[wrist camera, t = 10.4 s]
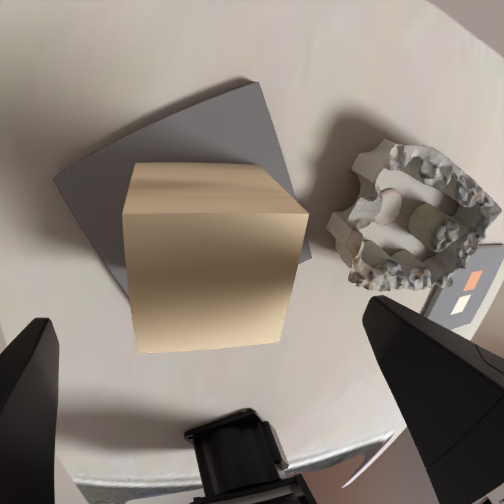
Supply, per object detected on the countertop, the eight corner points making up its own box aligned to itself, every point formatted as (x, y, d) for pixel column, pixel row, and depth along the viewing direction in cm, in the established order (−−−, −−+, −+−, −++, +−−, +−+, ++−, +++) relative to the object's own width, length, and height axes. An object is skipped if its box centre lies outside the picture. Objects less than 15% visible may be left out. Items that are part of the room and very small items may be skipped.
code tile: (467, 319, 27) (470, 322, 27) (411, 335, 25) (415, 340, 24) (503, 244, 23) (508, 247, 22) (454, 246, 20) (459, 250, 20)
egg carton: (306, 244, 17) (343, 290, 14) (368, 114, 14) (425, 133, 11) (420, 276, 21) (454, 310, 18) (469, 187, 18) (511, 213, 15)
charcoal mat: (152, 320, 16) (152, 327, 16) (57, 174, 11) (53, 179, 11) (307, 252, 17) (311, 258, 16) (254, 81, 12) (258, 81, 11)
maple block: (244, 267, 15) (279, 341, 11) (139, 270, 14) (137, 353, 10) (258, 164, 13) (309, 213, 9) (135, 162, 12) (122, 214, 7)
